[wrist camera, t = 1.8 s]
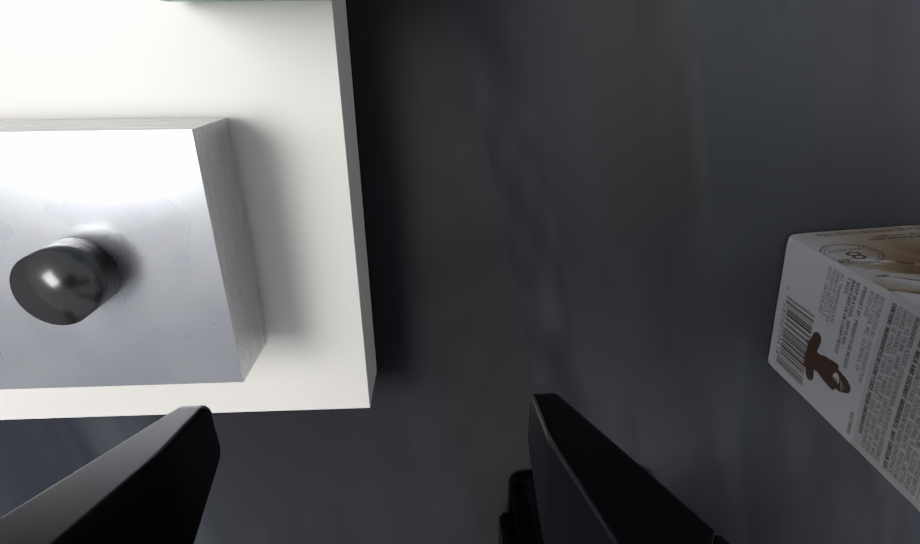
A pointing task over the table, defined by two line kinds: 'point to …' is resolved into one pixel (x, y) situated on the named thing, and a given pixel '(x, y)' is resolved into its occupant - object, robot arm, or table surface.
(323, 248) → the socket plate
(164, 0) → the plug
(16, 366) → the shutter
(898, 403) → the coffee box
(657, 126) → the table surface
